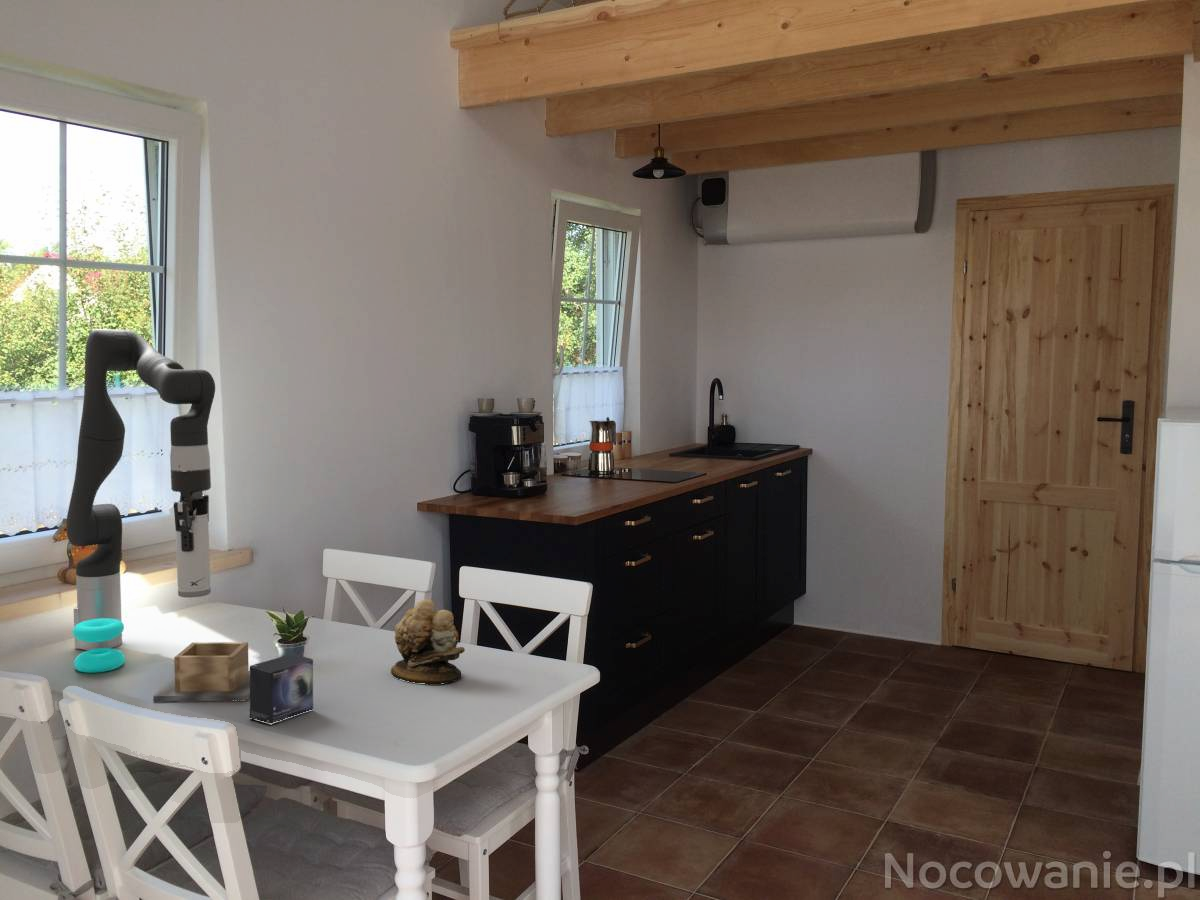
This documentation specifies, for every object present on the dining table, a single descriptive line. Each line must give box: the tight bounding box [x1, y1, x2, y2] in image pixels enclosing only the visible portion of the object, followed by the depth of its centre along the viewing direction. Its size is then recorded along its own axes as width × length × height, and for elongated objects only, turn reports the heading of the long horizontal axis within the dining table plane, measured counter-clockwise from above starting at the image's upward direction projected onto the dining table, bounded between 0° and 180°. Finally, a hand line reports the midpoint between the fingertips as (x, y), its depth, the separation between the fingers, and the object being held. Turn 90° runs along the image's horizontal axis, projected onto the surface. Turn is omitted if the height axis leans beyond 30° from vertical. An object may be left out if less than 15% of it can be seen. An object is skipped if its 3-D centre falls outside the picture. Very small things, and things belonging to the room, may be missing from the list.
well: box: [152, 641, 250, 702], centre depth 208 cm, size 18×16×8 cm
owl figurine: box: [390, 598, 465, 684], centre depth 218 cm, size 18×12×17 cm, turn 62°
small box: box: [248, 653, 314, 723], centre depth 193 cm, size 11×6×10 cm, turn 148°
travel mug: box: [175, 498, 212, 599], centre depth 209 cm, size 6×7×20 cm
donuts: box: [72, 618, 126, 674], centre depth 222 cm, size 10×10×10 cm
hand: (193, 548), depth 209 cm, fingers closed on travel mug, 6 cm apart
